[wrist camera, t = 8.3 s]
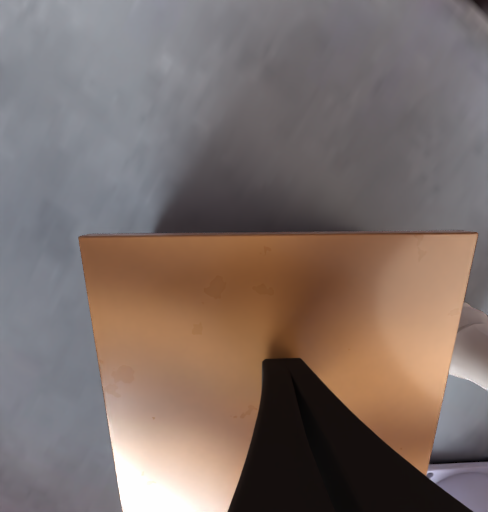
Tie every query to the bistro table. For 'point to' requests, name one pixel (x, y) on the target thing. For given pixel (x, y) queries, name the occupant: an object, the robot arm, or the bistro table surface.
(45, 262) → the bistro table surface
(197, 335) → the lid
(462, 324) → the rook chess piece
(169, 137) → the bistro table surface
